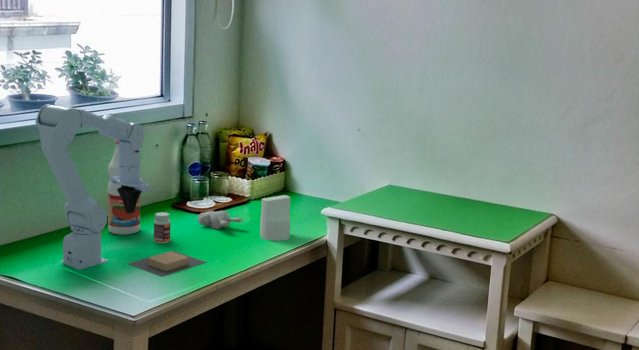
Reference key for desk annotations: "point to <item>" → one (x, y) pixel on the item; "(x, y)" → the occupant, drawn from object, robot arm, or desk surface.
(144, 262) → the mat
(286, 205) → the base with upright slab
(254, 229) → the desk surface
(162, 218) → the pill bottle
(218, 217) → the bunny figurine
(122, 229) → the fruit juice
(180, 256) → the block
